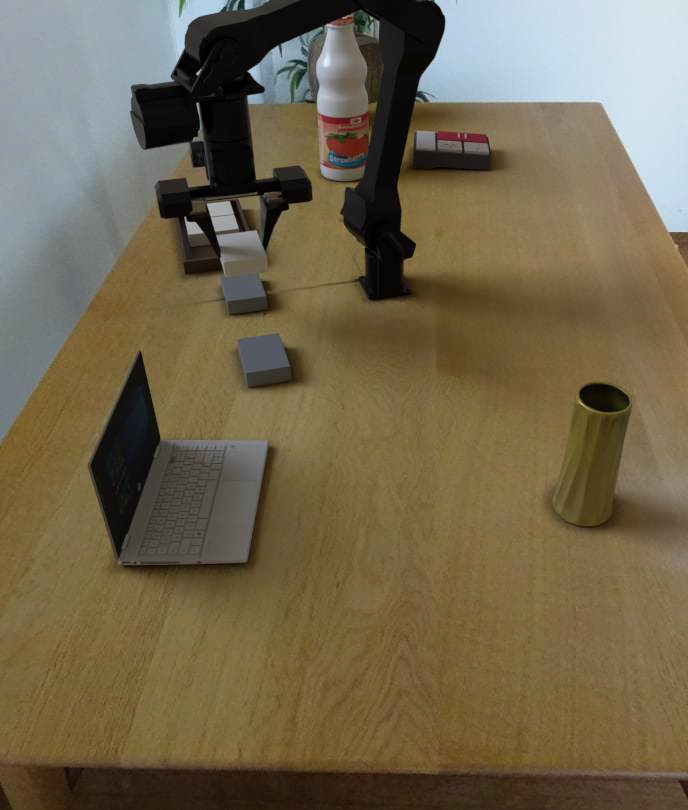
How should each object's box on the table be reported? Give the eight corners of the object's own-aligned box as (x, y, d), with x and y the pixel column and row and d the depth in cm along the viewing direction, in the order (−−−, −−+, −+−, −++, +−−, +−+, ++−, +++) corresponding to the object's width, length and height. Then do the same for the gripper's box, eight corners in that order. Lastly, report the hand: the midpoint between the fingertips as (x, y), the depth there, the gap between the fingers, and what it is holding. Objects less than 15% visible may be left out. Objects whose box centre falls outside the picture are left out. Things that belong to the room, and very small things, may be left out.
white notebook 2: (235, 226, 135) (234, 214, 134) (240, 241, 131) (239, 228, 130) (187, 232, 133) (185, 220, 132) (190, 247, 129) (188, 234, 128)
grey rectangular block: (267, 309, 115) (266, 295, 114) (228, 315, 114) (227, 301, 112) (258, 283, 121) (257, 269, 120) (221, 288, 120) (220, 274, 118)
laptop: (247, 566, 77) (231, 465, 69) (116, 567, 77) (84, 465, 69) (269, 444, 91) (258, 348, 83) (158, 444, 91) (136, 348, 83)
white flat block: (268, 272, 104) (267, 256, 102) (225, 277, 102) (223, 262, 101) (258, 245, 110) (256, 230, 108) (217, 250, 108) (215, 235, 107)
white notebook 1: (231, 212, 139) (229, 200, 138) (235, 226, 135) (234, 213, 134) (184, 218, 138) (182, 206, 136) (187, 231, 133) (185, 219, 132)
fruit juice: (356, 160, 160) (352, 7, 143) (377, 177, 154) (376, 17, 137) (312, 168, 157) (303, 12, 140) (332, 185, 150) (325, 23, 133)
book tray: (259, 267, 125) (257, 252, 123) (185, 277, 122) (183, 262, 121) (240, 212, 141) (238, 198, 139) (174, 219, 138) (172, 205, 137)
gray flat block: (291, 380, 101) (290, 366, 100) (247, 387, 100) (245, 373, 99) (280, 346, 107) (278, 332, 106) (238, 353, 106) (236, 339, 105)
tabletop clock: (361, 109, 186) (359, -11, 170) (386, 119, 180) (386, -4, 165) (310, 122, 178) (303, -2, 163) (334, 133, 173) (329, 6, 158)
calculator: (492, 152, 155) (414, 146, 154) (489, 173, 157) (412, 168, 157) (488, 132, 163) (414, 127, 163) (486, 153, 166) (413, 148, 166)
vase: (570, 478, 87) (591, 370, 79) (622, 503, 84) (649, 394, 75) (541, 508, 83) (559, 399, 75) (594, 536, 80) (619, 425, 72)
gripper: (291, 107, 104) (299, 219, 114) (142, 120, 100) (163, 236, 109) (309, 135, 96) (316, 254, 105) (148, 151, 91) (171, 274, 101)
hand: (241, 253), depth 105 cm, fingers closed on white flat block, 5 cm apart
